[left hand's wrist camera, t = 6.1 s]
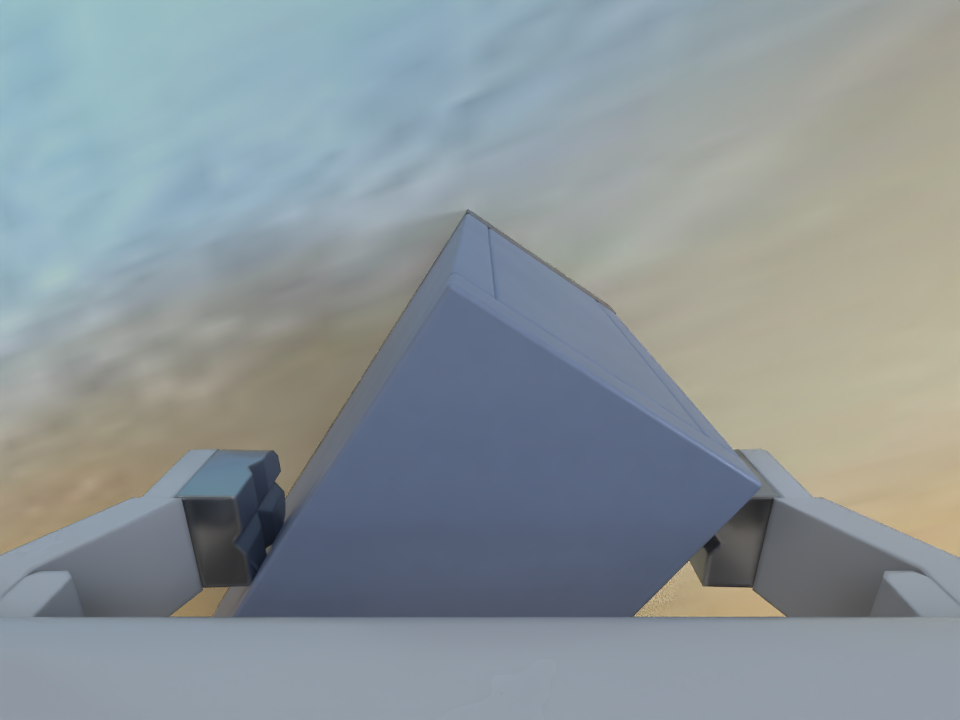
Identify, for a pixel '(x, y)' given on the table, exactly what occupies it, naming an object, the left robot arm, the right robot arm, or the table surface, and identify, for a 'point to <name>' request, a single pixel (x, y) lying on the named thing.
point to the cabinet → (500, 461)
